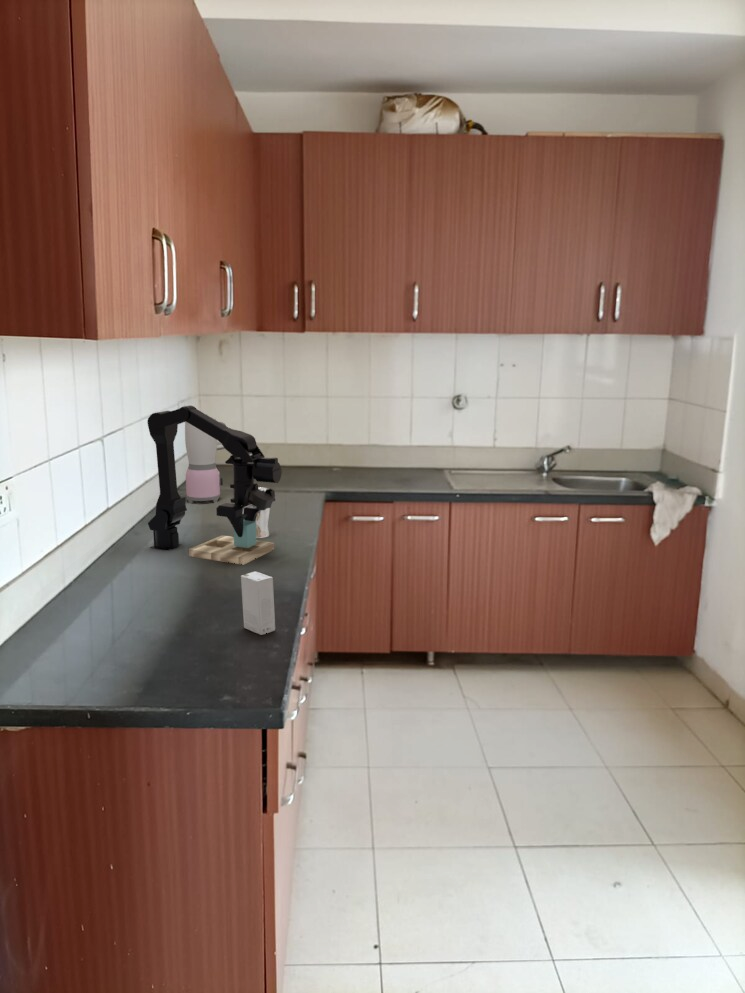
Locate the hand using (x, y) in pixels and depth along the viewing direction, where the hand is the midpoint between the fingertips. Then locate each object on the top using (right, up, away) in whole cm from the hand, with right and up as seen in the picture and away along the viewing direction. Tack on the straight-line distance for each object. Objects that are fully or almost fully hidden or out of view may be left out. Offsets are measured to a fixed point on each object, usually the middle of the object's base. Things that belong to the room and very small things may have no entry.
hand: (245, 534), depth 210 cm
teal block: (0, -3, +1) cm, 3 cm away
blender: (-26, +9, +69) cm, 74 cm away
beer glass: (+1, -2, +21) cm, 21 cm away
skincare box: (+11, -18, -49) cm, 54 cm away
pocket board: (-4, -6, +3) cm, 8 cm away
